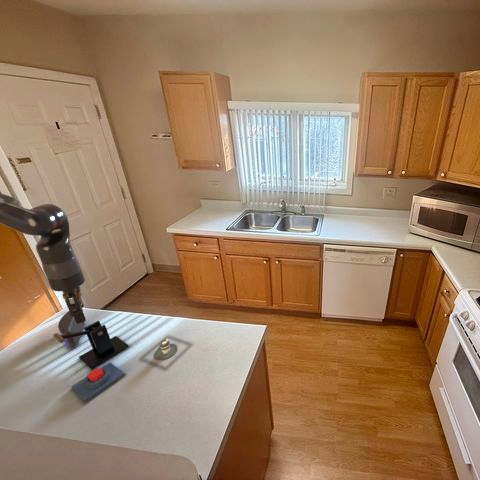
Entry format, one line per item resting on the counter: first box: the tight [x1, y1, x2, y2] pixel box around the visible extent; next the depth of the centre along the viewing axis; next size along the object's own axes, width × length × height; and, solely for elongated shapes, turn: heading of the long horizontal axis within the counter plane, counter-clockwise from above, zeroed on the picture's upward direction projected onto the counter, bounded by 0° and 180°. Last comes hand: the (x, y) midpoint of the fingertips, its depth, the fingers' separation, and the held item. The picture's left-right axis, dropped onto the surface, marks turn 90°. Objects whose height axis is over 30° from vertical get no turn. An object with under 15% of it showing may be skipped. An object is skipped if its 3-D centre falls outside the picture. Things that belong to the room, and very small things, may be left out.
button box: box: [70, 362, 125, 403], centre depth 85 cm, size 11×9×3 cm
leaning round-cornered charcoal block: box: [57, 309, 85, 350], centre depth 100 cm, size 16×5×9 cm, turn 31°
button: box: [87, 367, 104, 382], centre depth 84 cm, size 4×4×2 cm
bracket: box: [78, 320, 130, 371], centre depth 93 cm, size 12×9×13 cm
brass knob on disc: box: [153, 338, 178, 361], centre depth 97 cm, size 12×12×5 cm
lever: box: [52, 326, 100, 344], centre depth 87 cm, size 12×5×2 cm, turn 152°
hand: (80, 314), depth 82 cm, fingers open, 8 cm apart
